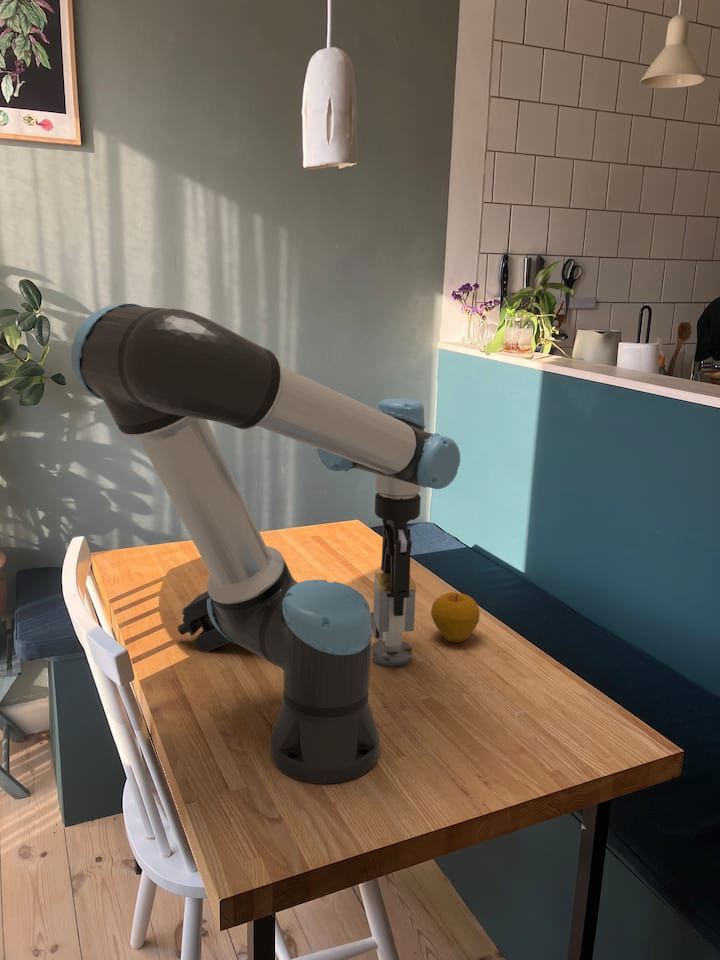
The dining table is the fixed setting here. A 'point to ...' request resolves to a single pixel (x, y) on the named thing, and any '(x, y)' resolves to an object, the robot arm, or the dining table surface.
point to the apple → (455, 616)
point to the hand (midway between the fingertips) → (392, 622)
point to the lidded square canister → (382, 602)
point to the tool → (201, 624)
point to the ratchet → (390, 648)
